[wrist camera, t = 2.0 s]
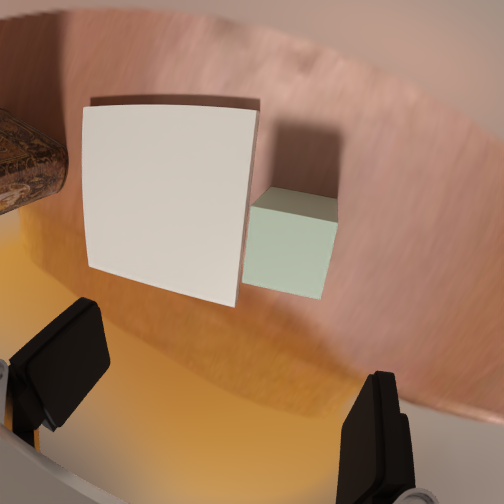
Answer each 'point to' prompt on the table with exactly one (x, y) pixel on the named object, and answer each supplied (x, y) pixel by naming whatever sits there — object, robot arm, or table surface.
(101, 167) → the pale board
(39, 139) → the book
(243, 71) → the table surface
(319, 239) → the block
